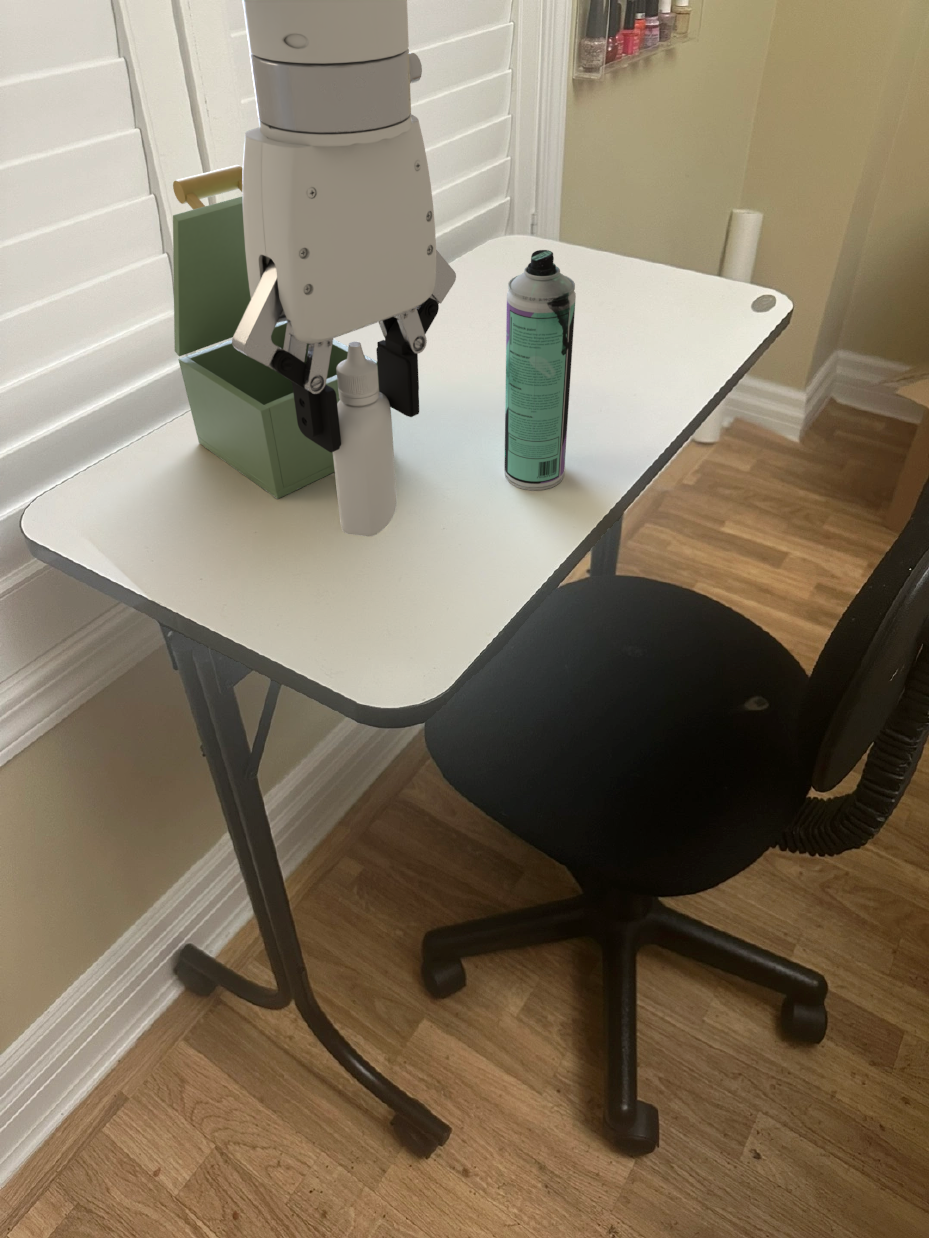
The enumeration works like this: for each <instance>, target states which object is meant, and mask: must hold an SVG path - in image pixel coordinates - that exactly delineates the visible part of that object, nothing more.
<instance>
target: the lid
mask: <svg viewBox="0 0 929 1238" xmlns="http://www.w3.org/2000/svg"><path fill="white" fill-rule="evenodd" d="M242 175H243V166H242V165H239V164H234V165H231V166H227V167H223V168H219V169H215V170H211V171H207V172H203V173H200V174H195V175H191V176H187V177H182V178H179V179H175V180H173V183H172V190H173V193H174V196H175V198H176V199H177V201H178V202H179V203H180V204H181V205H184V204H188V206H190V208H191V209H190V210H187V211H183V212H179V213H176V214H173V215H172V255H173V256H172V257H173V258H172V259H173V263H172V264H173V319H174V320H173V329H174V330H173V334H174V335H173V336H174V338H173V339H174V340H173V341H174V342H173V343H174V352H175V353H176V355H177V356H178V357H182V356H184V355H189V354H192V353H194V352H197V351H200V350H203V349H205V348H207V347H211V346H214V345H217V344H218V343H222V342H225V341H226V340H227V341H228V340H230V339H232V338H233V336H234V334H235V332H236V329H237V327H238V325H239V323H240V321H241V319H242V317H243V315H244V313H245V311H246V309H247V307H248V304H249V302H250V300H251V296H250V289H249V281H248V272H247V263H246V252H245V239H244V224H243V204H242V196H238V197H235V198H231V199H228V200H224V201H220V202H217V203H213V204H209V205H206V204H205V203H203V201H201V200H203V199H207V198H210V197H211V198H212V197H215V196H218V195H221V194H225V193H229V192H233V191H236V190H238V191H240V192H241V193H242Z"/></svg>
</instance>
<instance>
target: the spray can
mask: <svg viewBox="0 0 929 1238" xmlns="http://www.w3.org/2000/svg"><path fill="white" fill-rule="evenodd" d="M554 261H555V259H554V252H553V251H551V250H548V249H539V250H535V251H533V252H532V253H531V256H530V262H529V263H528V265H527V266H526V267H525V268H524V269H523V272H522V273H521V274H518V275H516V276H514V277H512V278H511V279H510V280H509V281H508V283H507V284H508V285H507V289H508V290H507V292H506V318H505V319H506V322H505V323H506V328H505V399H504V400H505V402H504V403H505V404H504V477H505V479H506V481H507V482H508V483H510V484H511V485H512V486H514V487H516V488H518V489H521V490H525V491H526V490H527V491H543V490H549V489H551V488H553V487H556V486H557V485H559V484H560V483H561V482H562V481H563V480H564V477H565V468H566V451H567V437H568V422H569V420H568V419H569V406H570V405H569V404H570V402H569V401H570V390H571V375H572V374H571V373H572V360H573V359H572V358H573V344H574V343H573V342H574V328H575V312H576V298H577V297H576V295H577V294H576V292H575V290H576V283H575V282H574V280H573V279H572V278H570V277H569V276H567V275H564V274H563V273H561V269H560V268H559V266H557V265H556V263H555V262H554Z"/></svg>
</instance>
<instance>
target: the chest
mask: <svg viewBox="0 0 929 1238" xmlns="http://www.w3.org/2000/svg"><path fill="white" fill-rule="evenodd" d="M286 326H287V321H283V322H278V323H277V324H276V326H275V328H274V330H273V332H272V335H271V340H272V342H273V343H274V344H275V345H277V346H278V347H280V348H282V349H283V348H284V341H285V333H286ZM308 347H309V344H307V348H306V355H305V361H304V363H306V360H307V353H308ZM348 347H349V345H347V344H344V343H342V342H340V341H338V340H337V339H335V338H333V344H332V350H331V356H330V362H329V368H328V374H327V380H326V385H328V386H330V387H331V388H333V389H334V390H335V392H336V397H337V403H338V402H339V401H340V399H339V391H338V381H337V372H336V368H337V365H338V364H339V363H340V362H342V361H344V360H346V359H347V356H348ZM364 357H365V358H366V359H370V360H372V361H373V362H375V363H376V365H377V360H375V359H373V358H372V357H370V356H367V355H366V354H364ZM178 363H179V368H180V371H181V372H180V373H181V375H182V379H183V384H184V388H185V393H186V396H187V400H188V404H189V409H190V412H191V417H192V420H193V425H194V428H195V429H194V430H195V432H196V436H197V440H198V443H199V444H200V445H201V446H202V447H204V448H206V449H207V450H208V451H210V453H212V454H214V455H215V456H216V457H218V458H219V459H221V460H222V461H224V462H225V463H226V464H228V465H229V466H231V467H232V468H233V469H235V470H236V471H237V472H239V473H241V474H242V475H244V477H246V478H247V479H249V481H252V482H253V483H255V484H256V485H257V486H258V487H260V488H261V489H263V490H264V491H266V492H267V493H268V494H270V495H271V496H273V498H276V499H277V500H279V499H281V498H283V497H285V496H287V495H290V494H291V493H293V492H295V491H297V490H300V489H302V488H304V487H306V486H309V485H310V484H312V483H315V482H316V481H318V480H321V479H323V478H325V477H326V476H329V475H332V474H334V473H335V469H334V460H333V452H329V451H327V450H326V449H324V448H323V447H321V446H319V445H318V444H316V443H315V442H313V441H312V440H310V439H308V438H307V437H305V436H304V435H303V434H302V432H301V431H300V429H299V427H298V423H297V415H296V408H295V401H294V393H293V386H292V381H290V380H289V379H287V378H286V377H284V376H283V375H281V374H279V373H278V372H276V371H275V370H273V369H272V368H270V367H268V366H266V365H264V364H262V363H260V362H258V361H256V360H254V359H252V358H250V357H248V356H247V355H245V354H243V353H242V352H240V351H238V350H237V349H235V348H234V347H233V345H232V339H228V340H227V341H223V342H220V343H219V344H218V343H217V344H214V345H212V346H209V347H208V348H207V347H206V348H203V349H201V350H198V351H195V352H192V353H190V354H187V355H186V356H183V357H182V356H181V357H180V358H178ZM377 371H378V365H377ZM378 385H379V380H378Z"/></svg>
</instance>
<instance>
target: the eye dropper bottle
mask: <svg viewBox="0 0 929 1238" xmlns="http://www.w3.org/2000/svg"><path fill="white" fill-rule="evenodd" d="M364 355H365V354H364V352H363V347H362V343H361V342H359V341H351V342H349V343H348V356H347V359H346V360H344V361H342V362H340V363H339V364H338V365H337V368H336V372H337V381H338V391H339V399H340V401H339V402H338V403H337V407H338V417H339V426H340V436H341V446H340V448H339V450H336V451H334V452H333V460H334V469H335V472H334V478H335V485H336V486H335V487H336V495H337V505H338V513H339V522H340V527H341V531H342V532H343V533H344V534H347V535H351V536H360V537H373V536H376V535H378V534H379V533H381V532H382V531H383V530H384V529H385V528H386V527H387V526H388V525H389V524H390V522H391V521H392V520H393V517H394V516H395V512H396V510H397V484H396V483H397V482H396V481H397V480H396V467H395V450H394V435H393V421H392V420H393V419H392V410H391V409H392V407H390V404H389V401H388V399H387V397H386V396H385V395H384V394H382V393H381V392H379V385H378V371H377V365H376V363H375V362H373V361H372V360H370V359H366V358H365V357H364Z"/></svg>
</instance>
